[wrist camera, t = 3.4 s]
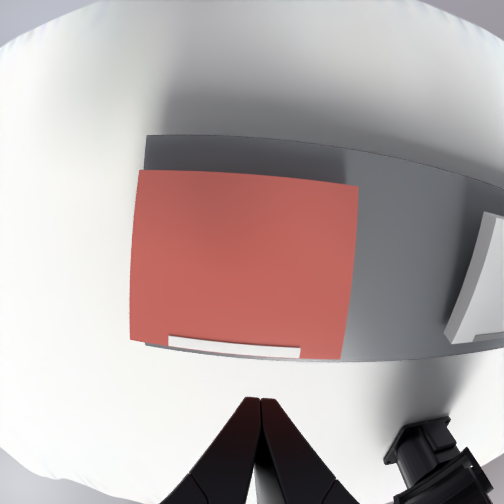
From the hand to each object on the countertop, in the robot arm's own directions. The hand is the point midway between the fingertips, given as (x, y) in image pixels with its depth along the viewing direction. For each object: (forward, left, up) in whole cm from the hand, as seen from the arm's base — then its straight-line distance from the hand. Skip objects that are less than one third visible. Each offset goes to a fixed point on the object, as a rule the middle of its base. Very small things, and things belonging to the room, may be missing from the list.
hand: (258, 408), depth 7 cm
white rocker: (+2, -17, -6) cm, 18 cm away
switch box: (+2, -8, -12) cm, 15 cm away
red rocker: (+2, +1, -6) cm, 7 cm away
